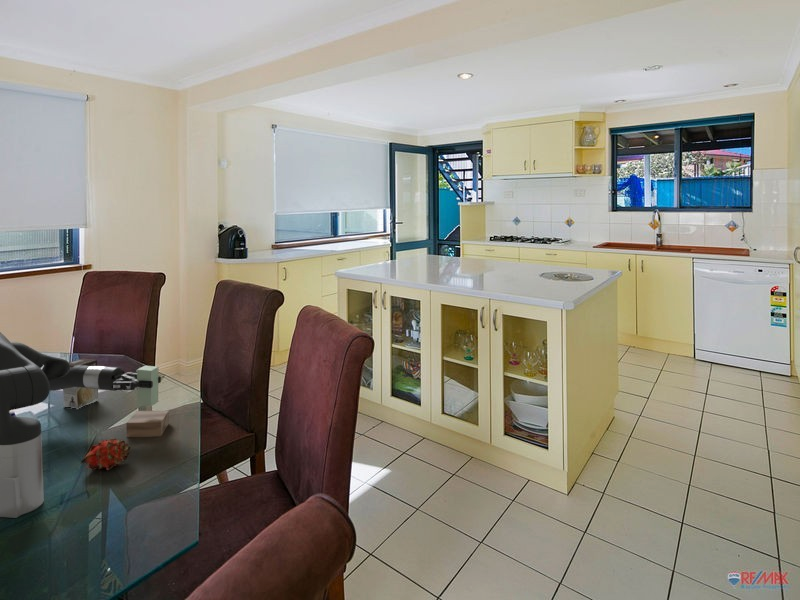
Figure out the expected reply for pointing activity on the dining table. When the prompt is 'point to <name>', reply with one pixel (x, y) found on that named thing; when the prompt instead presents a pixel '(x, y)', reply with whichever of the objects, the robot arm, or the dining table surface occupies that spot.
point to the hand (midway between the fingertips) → (156, 382)
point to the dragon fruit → (106, 454)
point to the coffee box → (79, 389)
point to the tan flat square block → (147, 423)
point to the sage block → (147, 394)
